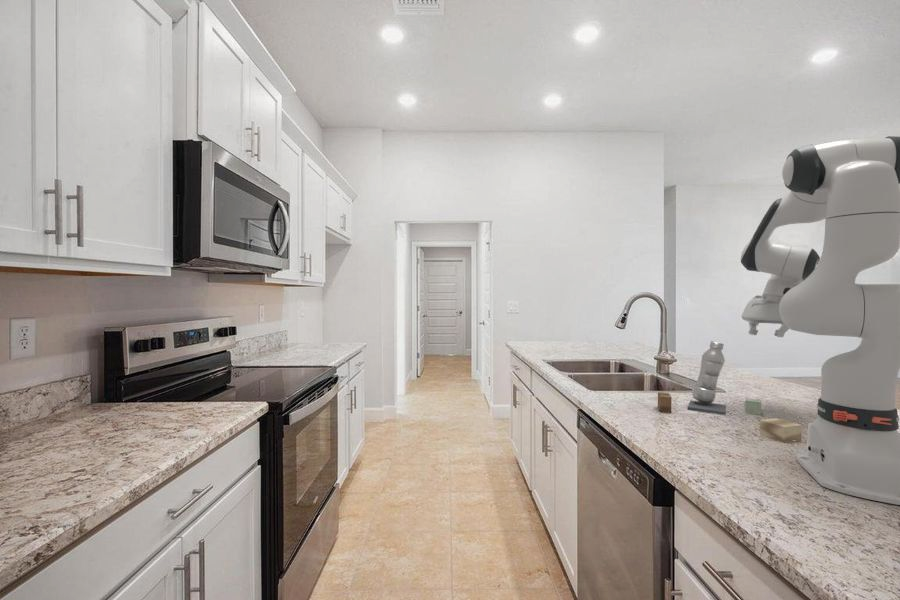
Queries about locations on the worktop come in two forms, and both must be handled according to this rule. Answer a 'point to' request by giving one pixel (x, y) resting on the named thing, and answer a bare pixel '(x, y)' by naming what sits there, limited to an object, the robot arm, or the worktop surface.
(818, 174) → the robot arm
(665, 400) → the walnut brick
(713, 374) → the plastic bottle
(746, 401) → the sage brick
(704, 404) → the mat
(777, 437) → the beech brick
